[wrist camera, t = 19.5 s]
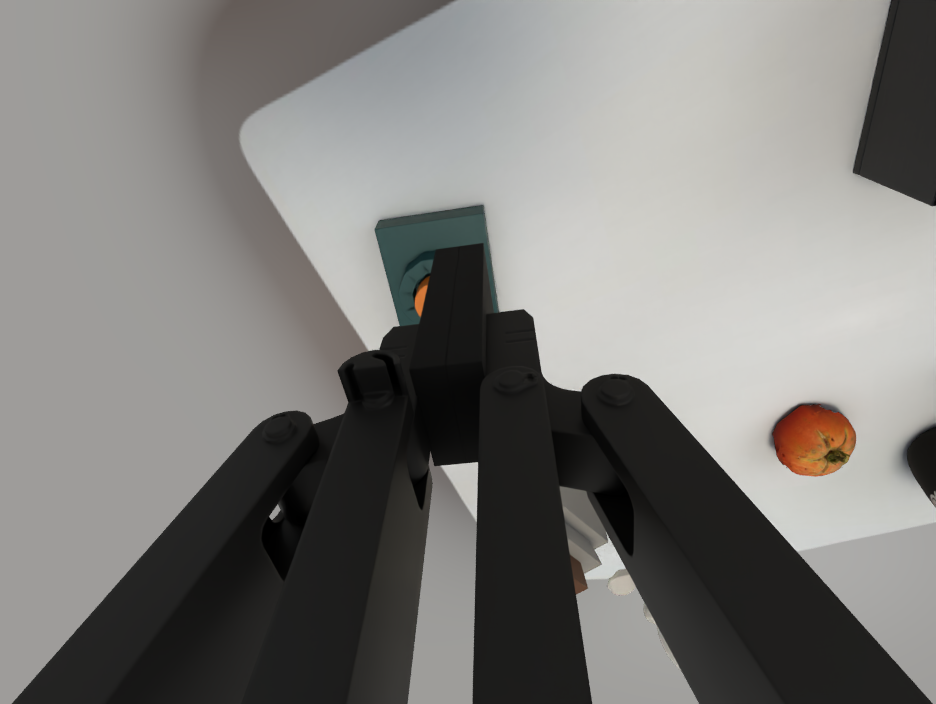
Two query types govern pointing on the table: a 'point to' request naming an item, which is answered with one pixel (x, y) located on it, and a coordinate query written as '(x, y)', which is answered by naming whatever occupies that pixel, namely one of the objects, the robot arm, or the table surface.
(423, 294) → the button
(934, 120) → the compartment
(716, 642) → the robot arm
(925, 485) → the mug
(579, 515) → the perfume bottle
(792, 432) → the tomato
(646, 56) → the table surface
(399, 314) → the control block
